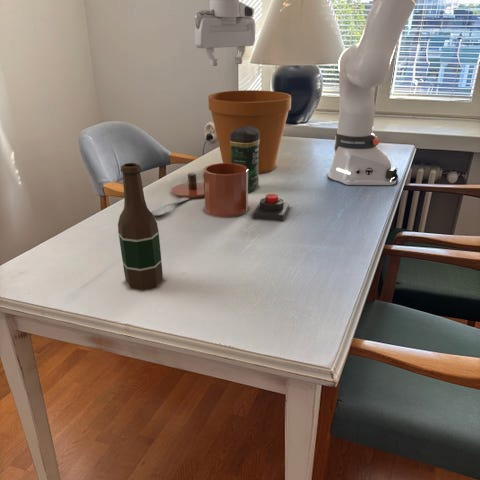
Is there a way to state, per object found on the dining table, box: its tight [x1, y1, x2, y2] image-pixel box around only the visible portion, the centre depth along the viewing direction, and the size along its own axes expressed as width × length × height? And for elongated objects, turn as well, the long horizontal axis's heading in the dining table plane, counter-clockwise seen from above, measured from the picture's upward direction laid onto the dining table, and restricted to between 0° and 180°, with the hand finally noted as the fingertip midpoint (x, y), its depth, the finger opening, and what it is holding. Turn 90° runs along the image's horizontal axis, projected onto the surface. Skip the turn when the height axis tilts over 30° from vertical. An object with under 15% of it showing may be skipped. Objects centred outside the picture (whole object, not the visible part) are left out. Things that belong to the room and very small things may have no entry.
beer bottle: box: [117, 162, 164, 291], centre depth 94 cm, size 8×8×24 cm
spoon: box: [150, 197, 191, 217], centre depth 138 cm, size 4×21×2 cm, turn 155°
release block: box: [253, 197, 290, 222], centre depth 134 cm, size 11×8×4 cm
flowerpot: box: [207, 89, 292, 174], centre depth 169 cm, size 28×28×24 cm
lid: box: [171, 172, 204, 198], centre depth 149 cm, size 13×13×6 cm
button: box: [265, 193, 280, 204], centre depth 133 cm, size 4×4×2 cm
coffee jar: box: [230, 126, 260, 193], centre depth 148 cm, size 10×8×19 cm
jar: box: [202, 162, 249, 218], centre depth 134 cm, size 12×12×12 cm
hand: (226, 64), depth 145 cm, fingers open, 8 cm apart
